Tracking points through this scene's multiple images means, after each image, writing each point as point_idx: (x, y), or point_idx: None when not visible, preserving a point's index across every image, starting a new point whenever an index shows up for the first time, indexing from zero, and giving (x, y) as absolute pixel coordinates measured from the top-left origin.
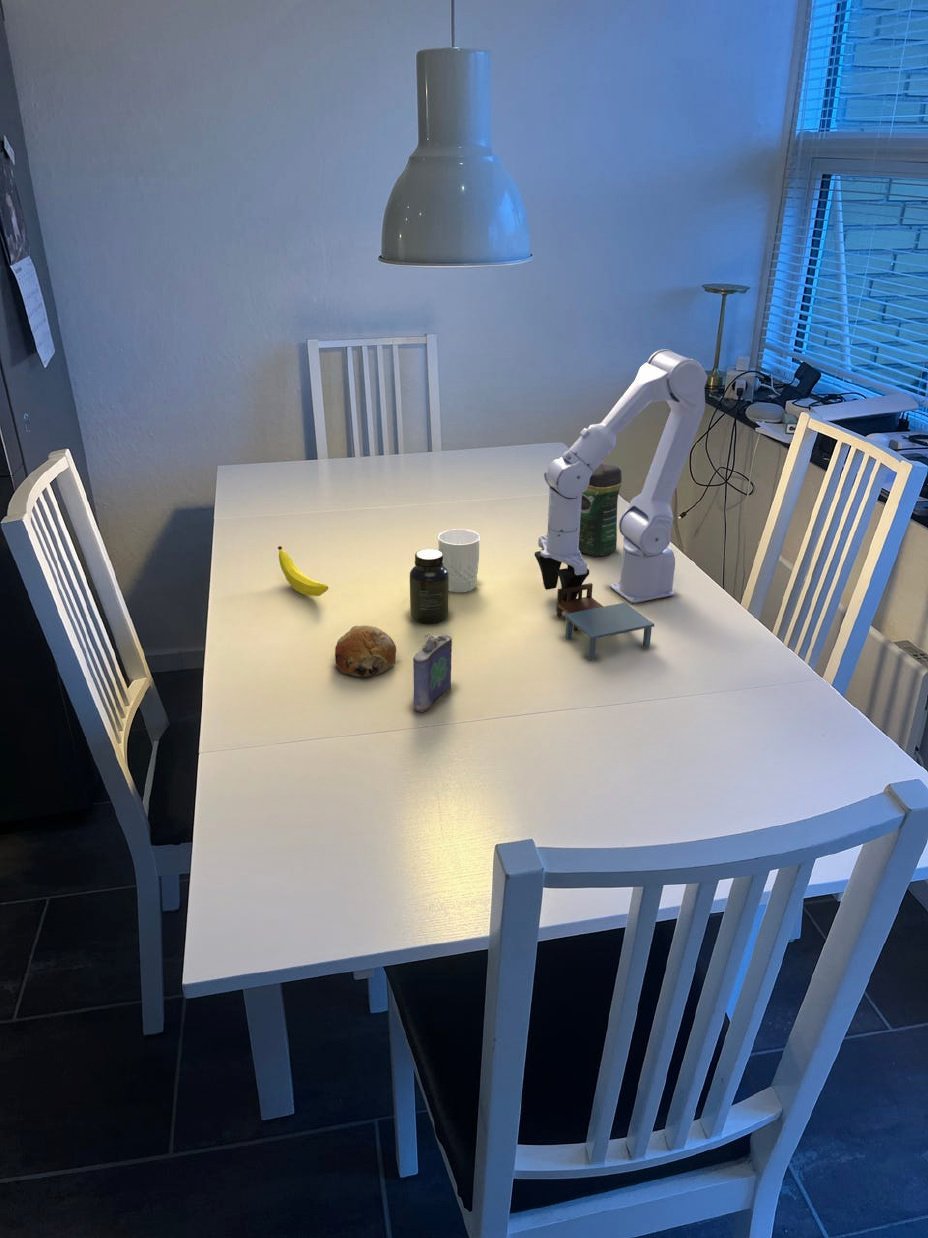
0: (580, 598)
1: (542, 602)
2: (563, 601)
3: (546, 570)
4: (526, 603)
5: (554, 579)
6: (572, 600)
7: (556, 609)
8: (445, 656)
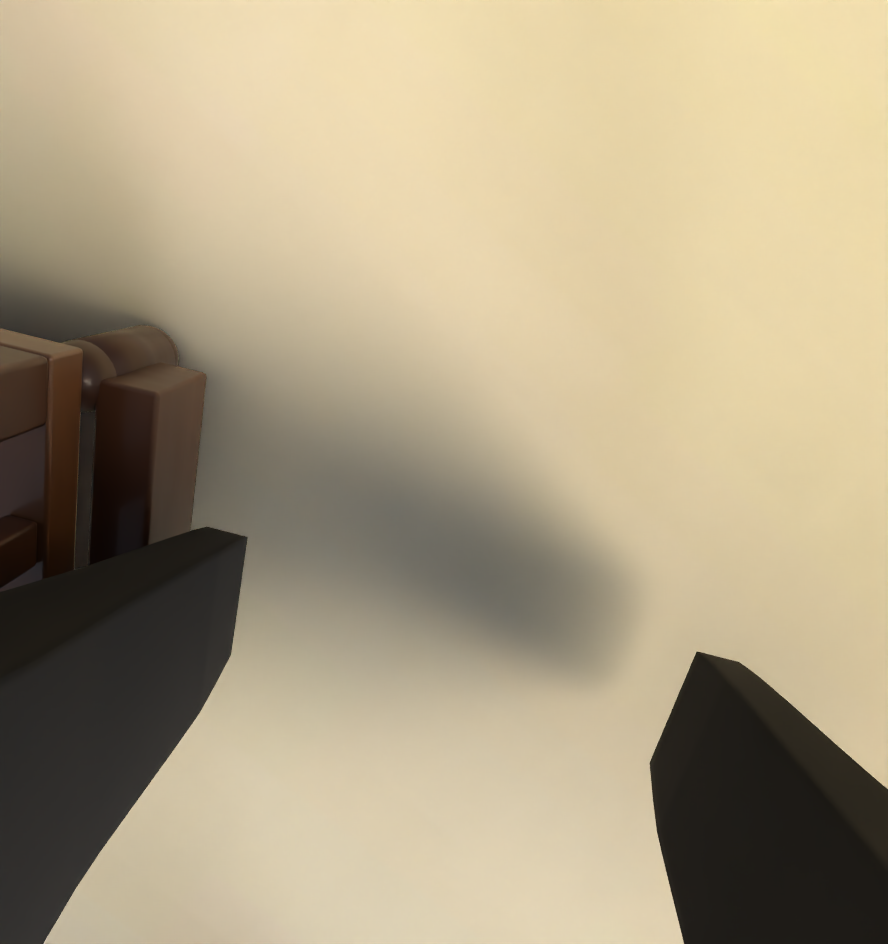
0: None
1: (595, 474)
2: (33, 460)
3: (842, 913)
4: (712, 293)
5: (692, 849)
6: (11, 583)
7: (186, 376)
8: None
